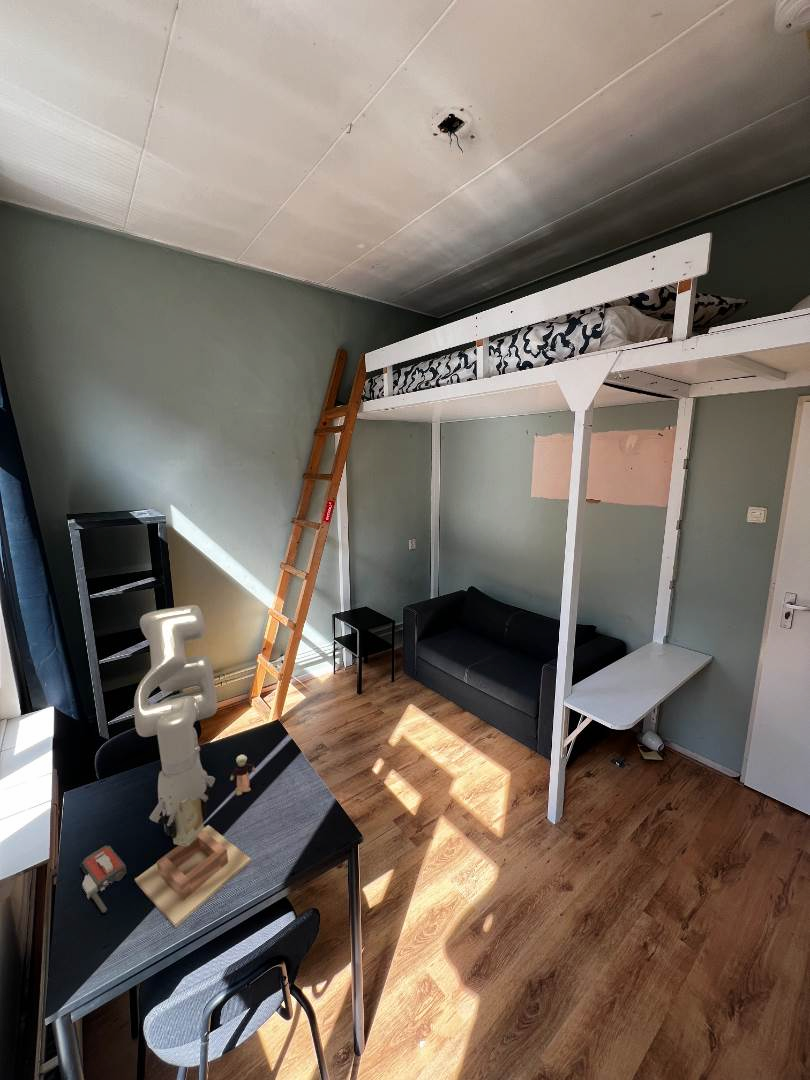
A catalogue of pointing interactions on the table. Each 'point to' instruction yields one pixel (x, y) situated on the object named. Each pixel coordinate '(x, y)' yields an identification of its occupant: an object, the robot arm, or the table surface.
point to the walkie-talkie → (101, 873)
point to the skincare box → (188, 821)
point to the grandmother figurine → (242, 774)
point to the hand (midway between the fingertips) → (187, 824)
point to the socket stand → (191, 874)
